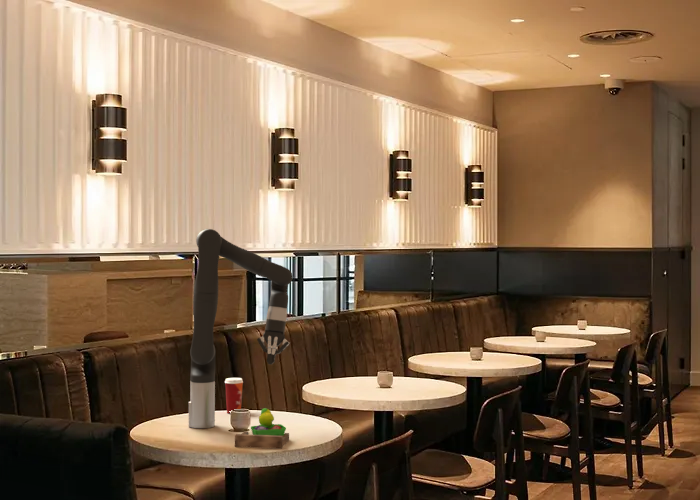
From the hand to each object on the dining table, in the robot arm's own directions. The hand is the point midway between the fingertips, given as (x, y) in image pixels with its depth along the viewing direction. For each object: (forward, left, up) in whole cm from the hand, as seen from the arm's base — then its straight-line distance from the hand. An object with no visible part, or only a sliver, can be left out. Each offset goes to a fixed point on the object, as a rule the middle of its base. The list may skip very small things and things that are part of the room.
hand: (270, 364), depth 370 cm
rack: (+4, -31, -24) cm, 39 cm away
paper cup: (-20, +22, -24) cm, 38 cm away
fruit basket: (+5, -26, -24) cm, 36 cm away
